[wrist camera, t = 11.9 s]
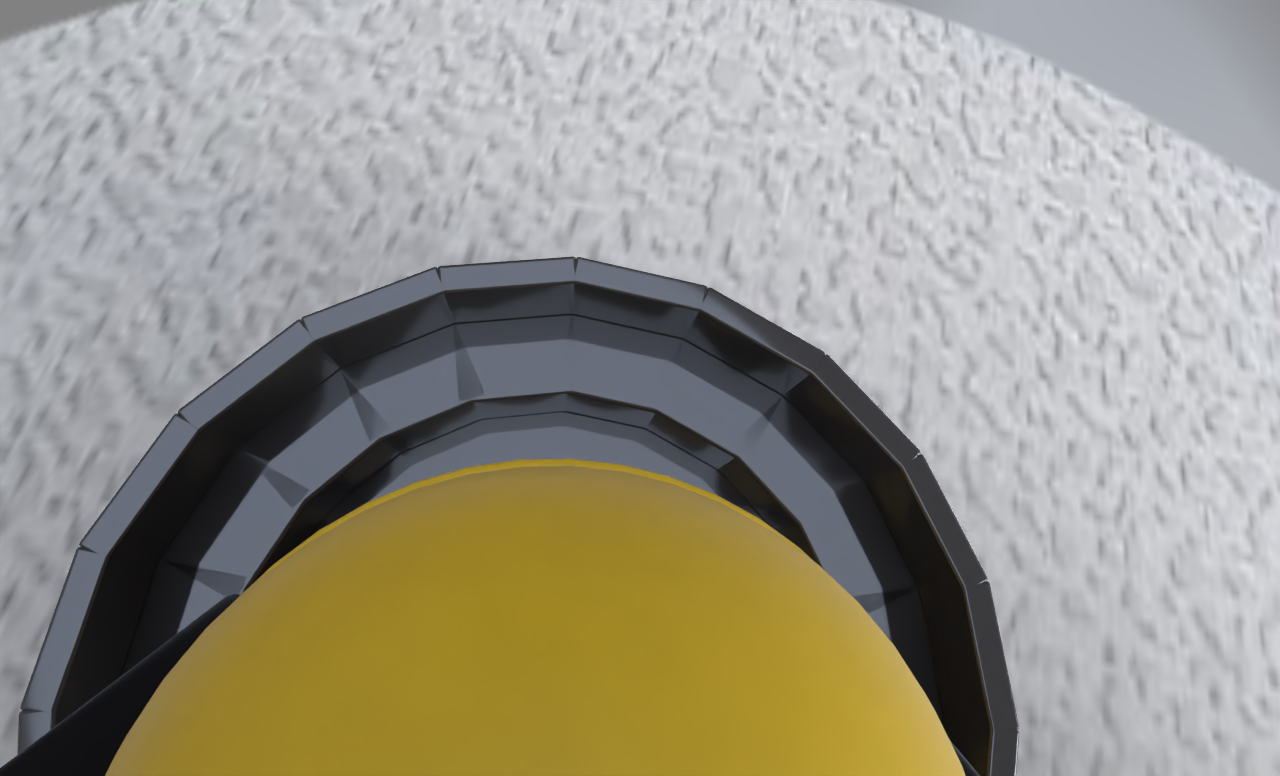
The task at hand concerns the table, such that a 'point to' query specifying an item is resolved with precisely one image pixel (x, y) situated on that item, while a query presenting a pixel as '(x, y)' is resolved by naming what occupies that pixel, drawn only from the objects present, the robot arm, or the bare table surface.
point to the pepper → (542, 646)
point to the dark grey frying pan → (530, 429)
